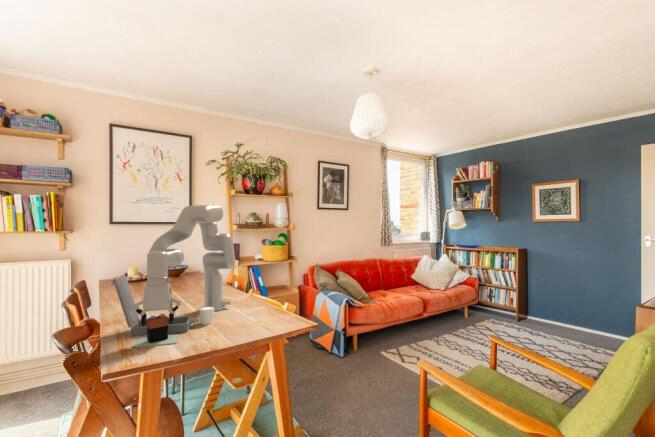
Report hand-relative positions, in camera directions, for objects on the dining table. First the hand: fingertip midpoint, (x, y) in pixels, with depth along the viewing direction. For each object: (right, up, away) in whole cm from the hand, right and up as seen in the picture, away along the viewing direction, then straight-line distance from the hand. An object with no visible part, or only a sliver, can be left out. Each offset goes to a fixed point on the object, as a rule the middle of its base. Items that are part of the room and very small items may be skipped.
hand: (157, 323), depth 129 cm
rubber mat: (0, -7, 0) cm, 7 cm away
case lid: (-18, +7, +10) cm, 22 cm away
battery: (0, -7, 0) cm, 7 cm away
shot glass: (+11, -8, +23) cm, 27 cm away
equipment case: (-5, -7, +14) cm, 16 cm away
